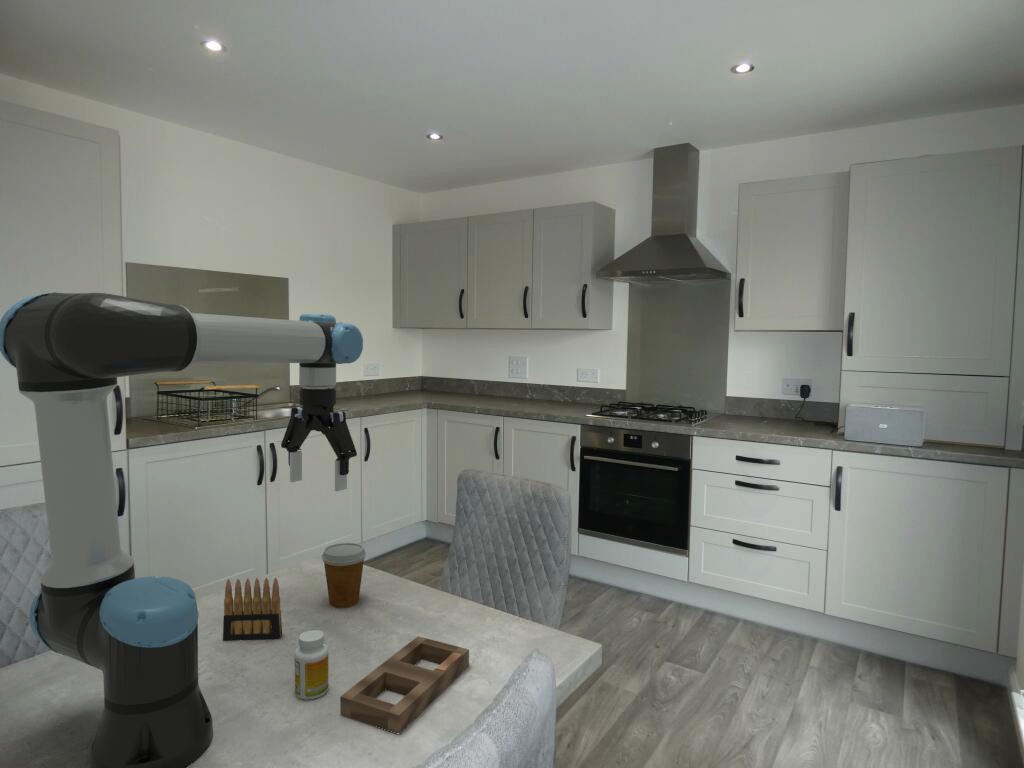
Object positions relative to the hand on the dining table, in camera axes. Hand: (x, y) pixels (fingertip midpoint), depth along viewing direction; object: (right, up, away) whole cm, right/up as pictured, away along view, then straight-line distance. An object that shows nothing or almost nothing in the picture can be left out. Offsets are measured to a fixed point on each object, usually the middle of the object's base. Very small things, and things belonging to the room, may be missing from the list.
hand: (317, 485), depth 135 cm
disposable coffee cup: (+4, -27, +4) cm, 27 cm away
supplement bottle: (+8, -30, -30) cm, 43 cm away
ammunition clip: (-9, -28, -12) cm, 32 cm away
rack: (+24, -30, -29) cm, 48 cm away
